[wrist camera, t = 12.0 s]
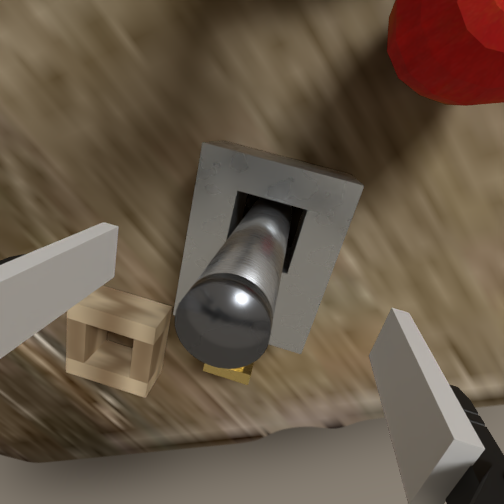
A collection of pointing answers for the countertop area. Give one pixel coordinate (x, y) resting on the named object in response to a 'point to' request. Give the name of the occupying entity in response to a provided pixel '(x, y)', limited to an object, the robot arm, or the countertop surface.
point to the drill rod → (237, 291)
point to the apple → (449, 49)
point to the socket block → (306, 237)
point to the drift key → (231, 372)
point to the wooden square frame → (113, 354)
